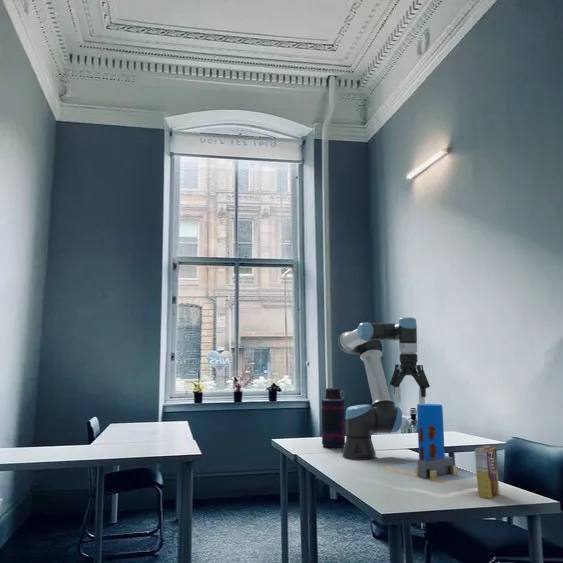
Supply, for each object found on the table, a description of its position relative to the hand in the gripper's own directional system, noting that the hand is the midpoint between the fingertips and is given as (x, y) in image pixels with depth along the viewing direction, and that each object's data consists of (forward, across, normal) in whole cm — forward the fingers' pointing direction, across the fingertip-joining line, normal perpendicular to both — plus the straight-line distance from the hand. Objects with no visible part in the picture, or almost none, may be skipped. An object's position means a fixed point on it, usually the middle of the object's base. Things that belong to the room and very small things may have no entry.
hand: (409, 403), depth 222 cm
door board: (+26, +13, -5) cm, 29 cm away
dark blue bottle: (+28, -60, +8) cm, 66 cm away
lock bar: (+24, +20, -8) cm, 33 cm away
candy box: (+25, +47, -15) cm, 55 cm away
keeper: (+25, +20, -8) cm, 33 cm away
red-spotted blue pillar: (+26, 0, +13) cm, 29 cm away
